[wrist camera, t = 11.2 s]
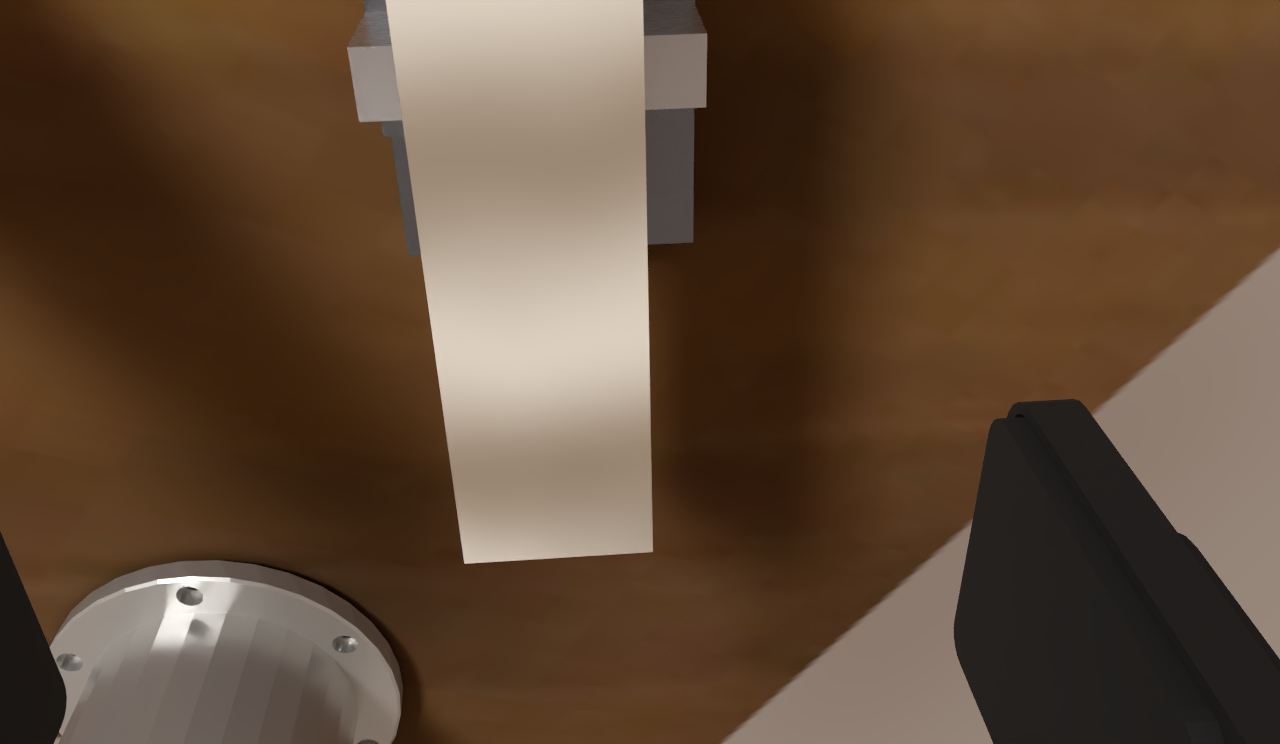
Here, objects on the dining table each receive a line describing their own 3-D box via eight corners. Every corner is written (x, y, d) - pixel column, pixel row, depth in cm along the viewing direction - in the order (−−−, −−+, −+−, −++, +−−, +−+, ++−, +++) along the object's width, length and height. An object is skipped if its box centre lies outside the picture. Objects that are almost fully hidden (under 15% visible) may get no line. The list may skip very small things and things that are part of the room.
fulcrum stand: (687, 219, 33) (723, 365, 26) (413, 232, 32) (379, 383, 26) (690, -346, 25) (742, -346, 19) (333, -337, 25) (254, -335, 18)
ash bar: (639, 441, 27) (653, 551, 24) (474, 450, 27) (464, 563, 24) (616, -490, 17) (633, -524, 14) (358, -485, 17) (312, -519, 14)
